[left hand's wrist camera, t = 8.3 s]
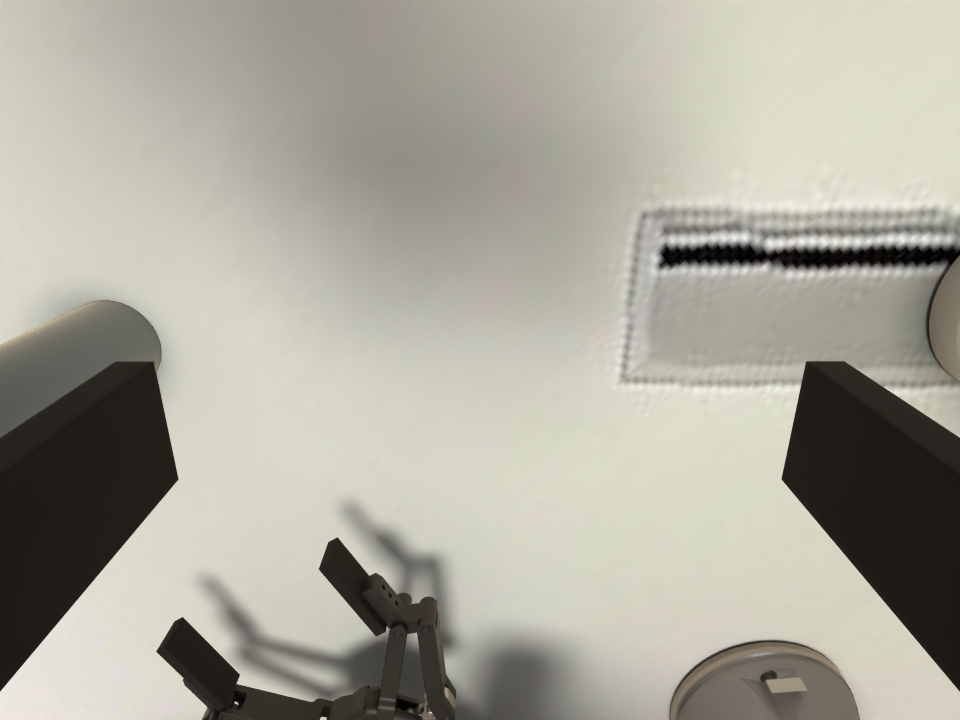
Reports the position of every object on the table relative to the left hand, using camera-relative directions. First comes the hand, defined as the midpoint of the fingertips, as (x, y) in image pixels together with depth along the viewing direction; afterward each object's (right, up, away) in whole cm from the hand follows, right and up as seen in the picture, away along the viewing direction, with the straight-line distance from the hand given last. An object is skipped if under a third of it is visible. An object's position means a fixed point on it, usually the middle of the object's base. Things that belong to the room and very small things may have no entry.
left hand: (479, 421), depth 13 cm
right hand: (-16, -15, +29) cm, 36 cm away
